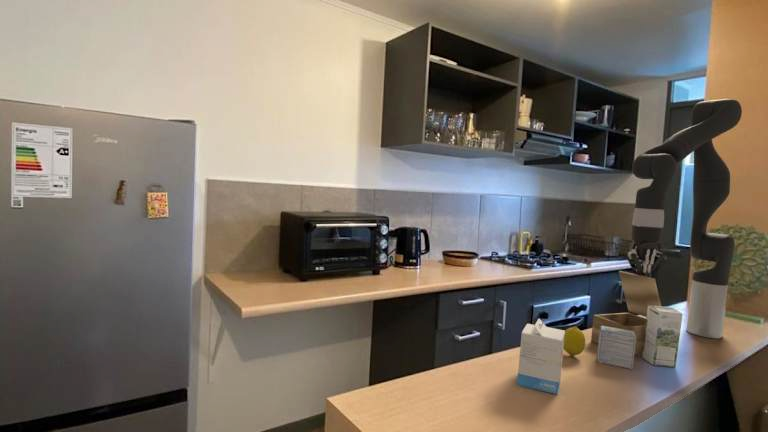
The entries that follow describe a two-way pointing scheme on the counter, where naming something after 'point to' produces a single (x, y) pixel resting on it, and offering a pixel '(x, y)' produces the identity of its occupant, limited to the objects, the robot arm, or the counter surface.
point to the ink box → (541, 357)
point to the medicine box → (616, 347)
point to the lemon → (574, 341)
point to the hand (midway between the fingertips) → (641, 284)
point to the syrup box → (662, 335)
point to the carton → (621, 326)
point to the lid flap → (639, 292)
